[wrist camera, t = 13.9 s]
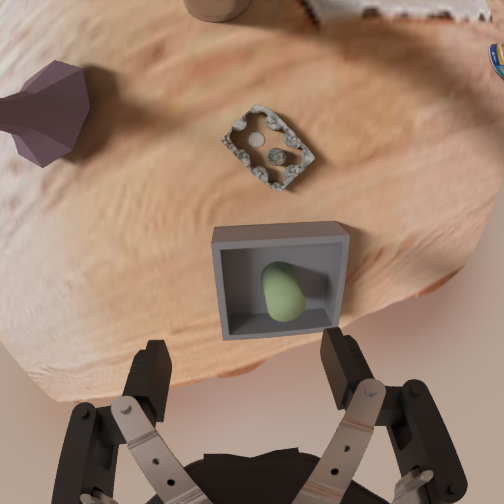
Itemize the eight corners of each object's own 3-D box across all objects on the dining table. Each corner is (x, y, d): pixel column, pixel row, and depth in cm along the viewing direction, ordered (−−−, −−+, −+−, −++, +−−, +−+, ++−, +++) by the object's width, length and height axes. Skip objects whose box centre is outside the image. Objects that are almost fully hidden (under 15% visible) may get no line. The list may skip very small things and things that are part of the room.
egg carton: (218, 139, 35) (216, 139, 31) (258, 102, 33) (261, 97, 29) (273, 192, 38) (277, 199, 34) (311, 157, 36) (320, 159, 33)
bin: (214, 227, 39) (211, 242, 34) (335, 220, 40) (350, 234, 35) (224, 317, 46) (223, 340, 40) (327, 308, 47) (337, 329, 41)
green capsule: (261, 262, 41) (268, 291, 34) (294, 260, 41) (307, 289, 34) (260, 290, 43) (267, 323, 36) (292, 288, 43) (303, 320, 36)
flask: (33, 73, 26) (-51, 65, 8) (112, 57, 28) (31, 18, 9) (25, 165, 32) (-61, 196, 14) (99, 163, 34) (7, 195, 16)
